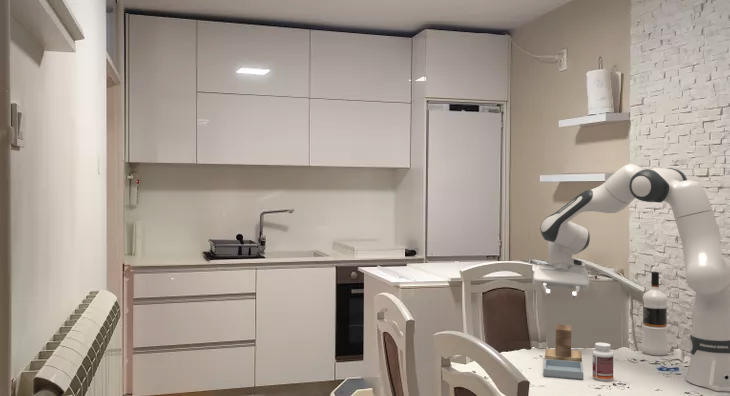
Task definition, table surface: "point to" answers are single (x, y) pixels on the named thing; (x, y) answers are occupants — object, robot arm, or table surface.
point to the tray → (563, 369)
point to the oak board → (574, 357)
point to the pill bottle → (602, 362)
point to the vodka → (654, 320)
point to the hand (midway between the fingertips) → (560, 296)
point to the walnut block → (563, 340)
